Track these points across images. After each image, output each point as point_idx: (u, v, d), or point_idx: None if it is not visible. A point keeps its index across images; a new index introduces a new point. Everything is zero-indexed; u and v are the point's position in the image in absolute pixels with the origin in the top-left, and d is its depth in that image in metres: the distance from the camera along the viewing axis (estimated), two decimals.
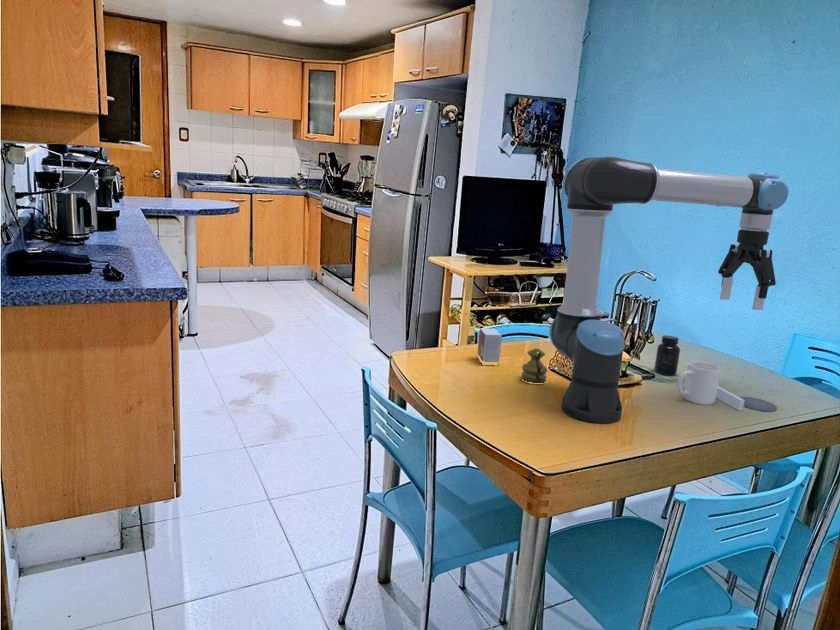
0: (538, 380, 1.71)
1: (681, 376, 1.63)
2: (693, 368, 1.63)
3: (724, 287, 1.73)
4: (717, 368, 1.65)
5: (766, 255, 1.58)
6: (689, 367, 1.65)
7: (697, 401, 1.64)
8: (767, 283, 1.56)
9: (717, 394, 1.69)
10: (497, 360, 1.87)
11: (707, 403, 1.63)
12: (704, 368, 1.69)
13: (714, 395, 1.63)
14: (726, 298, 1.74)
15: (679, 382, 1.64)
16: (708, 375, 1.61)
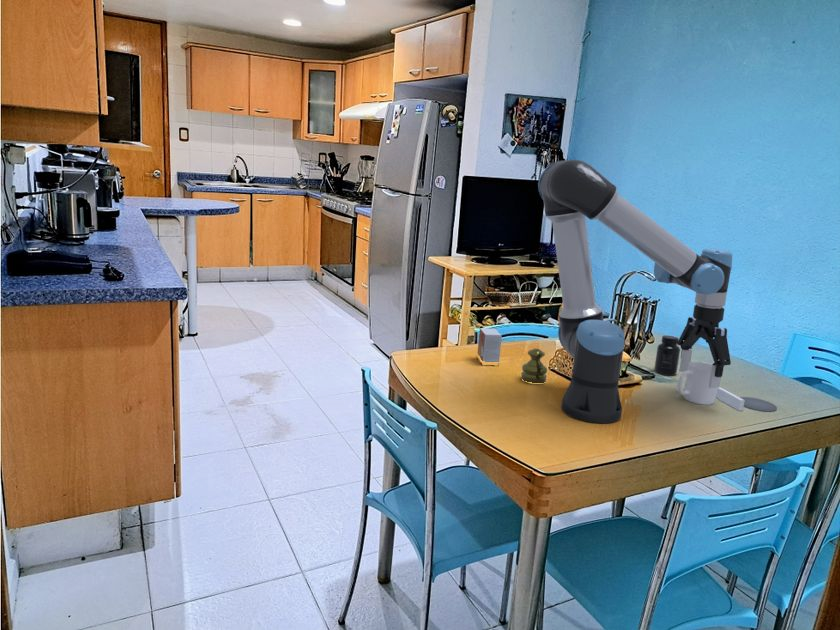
0: (538, 380, 1.71)
1: (681, 376, 1.63)
2: (693, 368, 1.63)
3: (683, 359, 1.70)
4: None
5: (721, 334, 1.55)
6: (689, 367, 1.65)
7: (697, 401, 1.64)
8: (722, 363, 1.54)
9: (717, 394, 1.69)
10: (497, 360, 1.87)
11: (707, 403, 1.63)
12: (704, 368, 1.69)
13: (714, 395, 1.63)
14: (685, 370, 1.71)
15: (679, 382, 1.64)
16: (708, 375, 1.61)
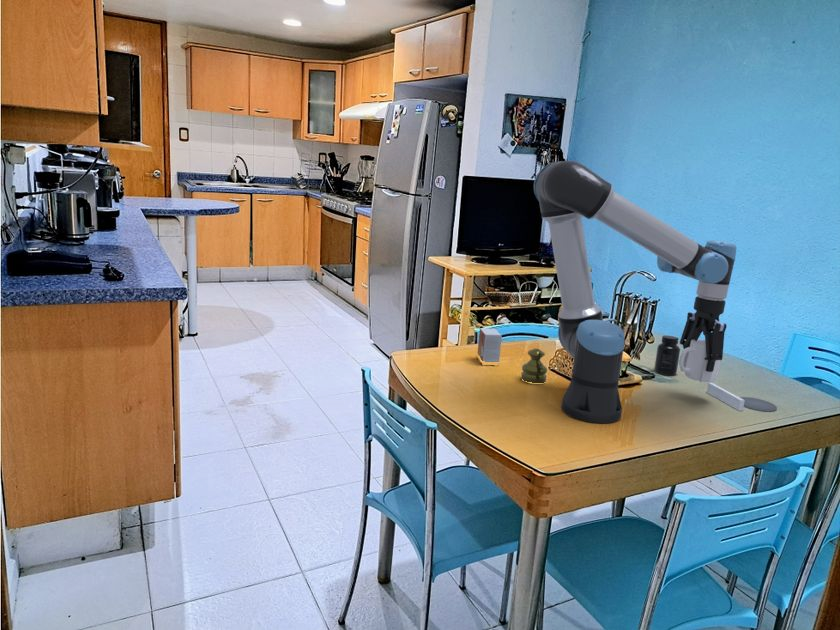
0: (538, 380, 1.71)
1: (683, 352, 1.62)
2: (696, 345, 1.62)
3: (685, 359, 1.68)
4: None
5: (719, 329, 1.55)
6: (691, 344, 1.63)
7: (698, 378, 1.62)
8: (713, 358, 1.56)
9: (717, 394, 1.69)
10: (497, 360, 1.87)
11: None
12: None
13: (716, 373, 1.62)
14: None
15: (681, 358, 1.62)
16: None
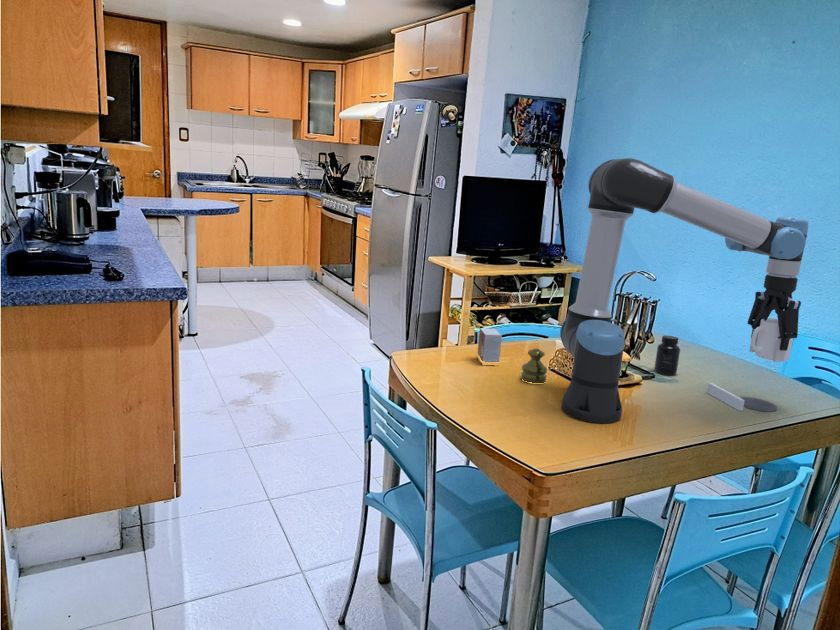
0: (538, 380, 1.71)
1: (755, 332, 1.59)
2: (768, 323, 1.59)
3: None
4: None
5: (794, 307, 1.53)
6: (762, 323, 1.61)
7: (771, 357, 1.59)
8: (788, 336, 1.53)
9: (717, 394, 1.69)
10: (497, 360, 1.87)
11: None
12: None
13: (789, 351, 1.59)
14: None
15: (753, 338, 1.59)
16: None
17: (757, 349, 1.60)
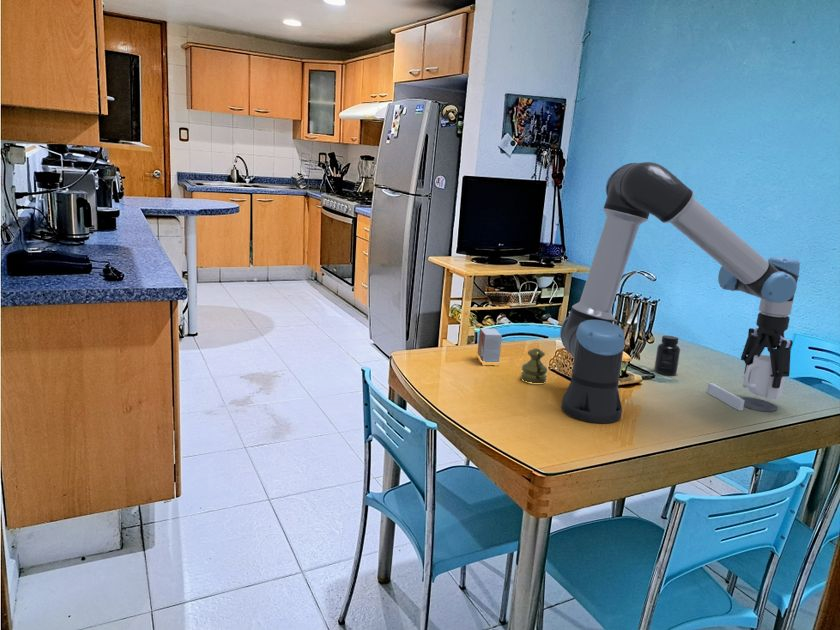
0: (538, 380, 1.71)
1: (748, 369, 1.61)
2: (760, 361, 1.61)
3: None
4: None
5: (785, 346, 1.55)
6: (755, 360, 1.63)
7: (764, 394, 1.62)
8: (780, 375, 1.56)
9: (717, 394, 1.69)
10: (497, 360, 1.87)
11: None
12: (769, 361, 1.67)
13: (781, 388, 1.61)
14: None
15: (746, 375, 1.62)
16: None
17: (750, 386, 1.63)
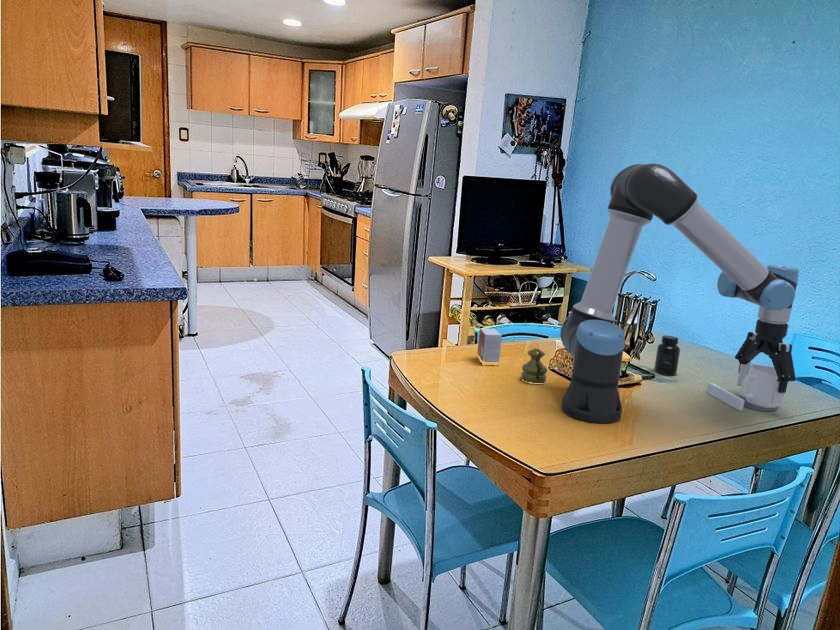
0: (538, 380, 1.71)
1: (745, 379, 1.62)
2: (758, 371, 1.62)
3: (741, 374, 1.70)
4: None
5: (786, 350, 1.55)
6: (752, 370, 1.64)
7: (761, 404, 1.63)
8: (787, 379, 1.54)
9: (717, 394, 1.69)
10: (497, 360, 1.87)
11: (771, 406, 1.62)
12: (766, 371, 1.68)
13: None
14: None
15: (743, 385, 1.63)
16: (772, 379, 1.60)
17: (747, 396, 1.64)
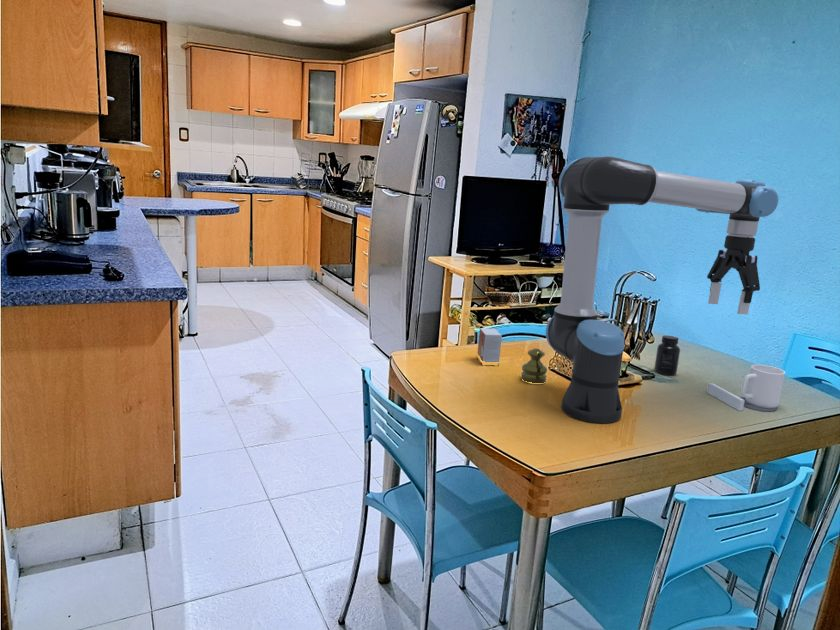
0: (538, 380, 1.71)
1: (745, 379, 1.62)
2: (757, 371, 1.62)
3: (712, 292, 1.76)
4: (780, 371, 1.64)
5: (751, 261, 1.61)
6: (752, 370, 1.64)
7: (761, 404, 1.63)
8: (751, 288, 1.59)
9: (717, 394, 1.69)
10: (497, 360, 1.87)
11: (771, 406, 1.62)
12: (766, 371, 1.68)
13: (778, 398, 1.62)
14: (714, 302, 1.77)
15: (743, 385, 1.63)
16: (772, 379, 1.60)
17: (747, 396, 1.64)
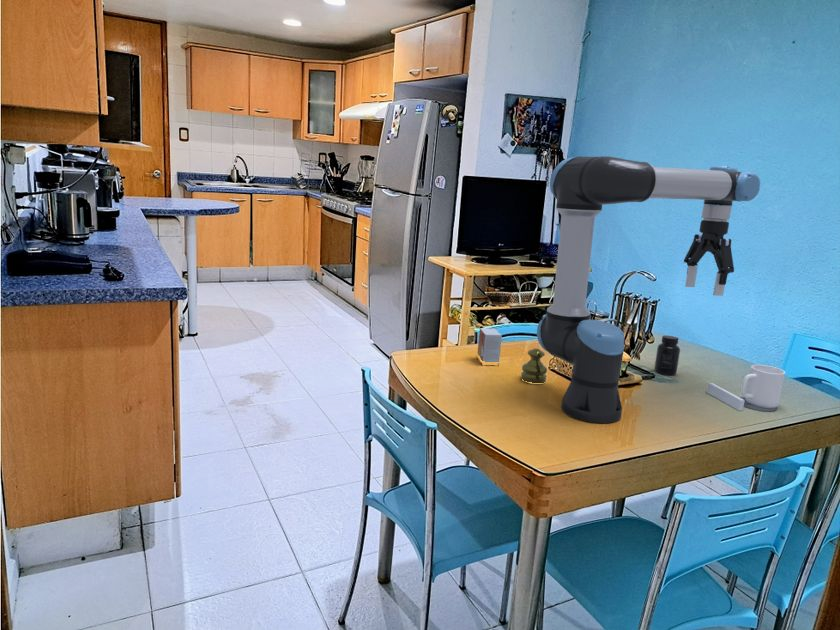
0: (538, 380, 1.71)
1: (745, 379, 1.62)
2: (758, 371, 1.62)
3: (689, 275, 1.82)
4: (780, 371, 1.64)
5: (725, 244, 1.67)
6: (752, 370, 1.64)
7: (761, 404, 1.63)
8: (726, 270, 1.66)
9: (717, 394, 1.69)
10: (497, 360, 1.87)
11: (771, 406, 1.62)
12: (766, 371, 1.68)
13: (778, 398, 1.62)
14: (691, 285, 1.83)
15: (743, 385, 1.63)
16: (772, 379, 1.60)
17: (747, 396, 1.64)
